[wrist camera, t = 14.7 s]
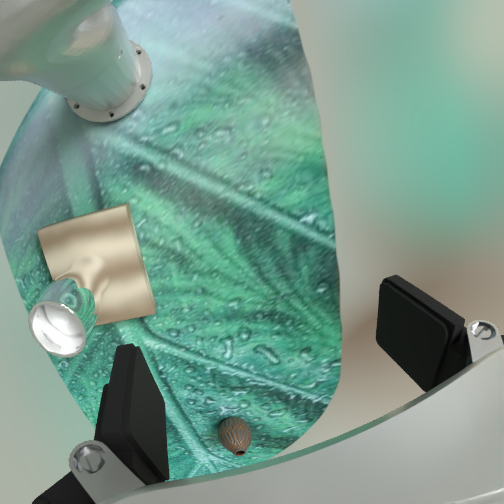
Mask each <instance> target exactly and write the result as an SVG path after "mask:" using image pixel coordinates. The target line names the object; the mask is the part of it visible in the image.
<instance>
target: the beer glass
mask: <svg viewBox="0 0 504 504" xmlns="http://www.w3.org/2000/svg"><path fill="white" fill-rule="evenodd" d="M109 282H110V269H109V266H108V264H107V263H106V261H105V260H104V259H103V258H102V257H101V256H99V255H97V254H95V253H89V252H87V253H82V254H80V255H78V256H77V257H76V258H75V259H74V261H73V263H72V265H71V268H70V270H68V271H67V272H65V273H63V274H62V275H60V276H58V277H57V278H56V279H54V280H53V281H52V282H51V283H50V284H49V285H48V286H47V287H46V288H45V289H44V291H43V292H42V293H41V295H40V296H39V298H38V300H37V301H36V303H35V305H34V307H33V308H32V309H31V311H30V314H29V328H30V331H31V333H32V335H33V337H34V339H35V340H36V342H37V343H38V344H39V345H40V346H41V347H42V348H43V349H44V350H46V351H47V352H49V353H51V354H53V355H55V356H59V357H73V356H75V355H77V354H79V353H80V352H81V351H82V350H83V348H84V346H85V344H86V342H87V340H88V338H89V336H90V334H91V333H92V330H93V328H94V326H95V323H96V320H97V317H98V313H99V307H100V298H101V293H102V292H103V291H104V290H105V289H106V287H107V286H108V284H109Z"/></svg>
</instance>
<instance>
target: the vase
mask: <svg viewBox="0 0 504 504" xmlns="http://www.w3.org/2000/svg"><path fill="white" fill-rule="evenodd" d="M218 437H219V441H220V443H221V444H222V446H223V447H224V448H225V449H227V450H229V451H230V452H232V453H233V454H234V455H235V456H242V455H244V454H246V451H247V448H248V447H249V445H250V443H251V441H252V432H251V429H250V427H249V425H248V424H247V422H246V421H244V420H243V419H241V418H238V417H229V418H226V419H225V420H223V421H222V422H221V424H220V425H219V428H218Z"/></svg>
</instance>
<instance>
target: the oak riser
mask: <svg viewBox="0 0 504 504" xmlns="http://www.w3.org/2000/svg"><path fill="white" fill-rule="evenodd" d="M37 233H38V236H39V240H40V243H41V246H42V249H43V253H44V256H45V259H46V262H47V265H48V268H49V270H50V273H51V276H52V279H53V280H54V279H56V278H57V277H58V276H60V275H62V274H63V273H65V272H67V271H68V270H70V268H71V265H72V263H73V261H74V259H75V258H76V257H77V256H78V255H80V254H82V253H87V252H89V253H95V254H97V255H99V256H101V257H102V258H103V259H104V260H105V261H106V263H107V264H108V266H109V269H110V282H109V284H108V286H107V287H106V289H105V290H104V291H103V292H102V293H101V298H100V307H99V313H98V317H97V320H96V323H95V326H96V325H101V324H107V323H112V322H117V321H122V320H127V319H132V318H137V317H142V316H147V315H152V314H155V313H156V301H155V298H154V295H153V292H152V289H151V285H150V282H149V279H148V275H147V272H146V268H145V265H144V261H143V258H142V254H141V250H140V247H139V243H138V239H137V235H136V231H135V227H134V223H133V219H132V215H131V211H130V206H129V203H125V204H121V205H117V206H113V207H110V208H106V209H102V210H98V211H95V212H91V213H88V214H84V215H81V216H77V217H74V218H70V219H67V220H63V221H60V222H57V223H54V224H50V225H47V226H45V227H43V228H41V229H40V230H38V231H37Z"/></svg>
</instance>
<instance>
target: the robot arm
mask: <svg viewBox="0 0 504 504" xmlns="http://www.w3.org/2000/svg"><path fill="white" fill-rule="evenodd" d="M110 1H112V0H0V81H17V80H22V81H28V82H31V83H34V84H37V85H39V86H42V87H44V88H46V89H48V90H50V91H52V92H55V93H57V94H59V95H61V96H63V97H65V98H67V101H68V103H69V106H70V107H71V109H72V110H73V111H74V112H75V113H76V114H77V115H78V116H79V117H81V118H83V119H85V120H88V121H91V122H97V123H103V122H110V121H115V120H117V119H120V118H122V117H124V116H126V115H127V114H129V113H130V112H132V111H133V110H134V109H135V108H136V107H137V106H138V105H139V104H140V103H141V102H142V101H143V99H144V98H145V96H146V94H147V93H148V90H149V88H150V85H151V81H152V65H151V61H150V59H149V56H148V54H147V53H146V51H145V50H144V49H143V48H142V47H141V46H140V45H139V44H137V43H135V42H134V41H131V40H129V38H128V36H127V33H126V31H125V29H124V26H123V24H122V21H121V19H120V17H119V14H118V12H117V11H116V9H115V8H114V6H113V5H112V4H111V3H110ZM138 53H141V54H139V55H138ZM142 87H145V89H144V90H142ZM78 105H79V108H78V109H77V106H78ZM111 114H114V116H113V117H111ZM464 323H465V319H464V318H462V317H461V316H459V315H458V314H456V313H455V312H453V311H452V310H450V309H448V308H447V307H446V306H444V305H443V304H441V303H440V302H438V301H437V300H435V299H434V298H432V297H431V296H429V295H428V294H426V293H424V292H423V291H422V290H420V289H419V288H417V287H415V286H414V285H412V284H411V283H409V282H408V281H406V280H404V279H403V278H401V277H399V276H398V275H393V276H390V277H387V278H385V279H384V280H383V281H382V283H381V284H380V290H379V306H378V318H377V330H376V341H377V343H378V345H379V346H380V347H381V348H382V349H383V350H384V351H385V352H386V353H387V354H388V355H389V356H390V357H391V358H392V359H393V360H394V361H395V362H396V363H397V364H398V365H399V366H400V367H401V368H402V369H403V370H404V371H405V372H406V373H407V374H408V375H409V376H410V377H411V378H412V379H413V380H414V381H415V382H416V383H417V384H418V385H419V387H421V389H422V390H423V391H425V392H426V393H425V394H423V395H421V396H420V397H418V398H416V399H414V400H413V401H410V402H409V403H407V404H405V405H403V406H402V407H399V408H397V409H396V410H394V411H392V412H390V413H388V414H386V415H384V416H382V417H380V418H378V419H376V420H373V421H371V422H369V423H367V424H365V425H363V426H361V427H358V428H356V429H354V430H352V431H349V432H347V433H344V434H342V435H340V436H337V437H335V438H332V439H330V440H327V441H325V442H322V443H319V444H316V445H313V446H311V447H308V448H305V449H302V450H299V451H296V452H294V453H290V454H287V455H284V456H281V457H277V458H274V459H270V460H267V461H263V462H260V463H256V464H252V465H248V466H244V467H240V468H235V469H231V470H227V471H222V472H217V473H213V474H208V475H202V476H197V477H191V478H185V479H179V480H174V481H168V482H165V480H169V465H168V452H167V436H166V415H165V402H164V399H163V397H162V395H161V393H160V390H159V388H158V386H157V384H156V382H155V380H154V378H153V376H152V374H151V371H150V369H149V367H148V365H147V363H146V360H145V358H144V356H143V353H142V351H141V349H140V347H139V346H137V347H135V346H134V344H132V343H131V344H125V345H120V346H117V349H116V353H115V358H114V362H113V367H112V371H111V376H110V381H109V384H105V385H104V388H103V392H102V397H101V402H100V407H99V413H98V418H97V424H96V430H95V436H94V440H93V441H92V440H89V441H85V442H83V443H81V444H79V445H78V446H76V447H75V448H74V449H73V451H72V452H71V454H70V457H69V466H70V469H71V471H70V472H69V473H68V474H67V475H65V476H64V477H63V478H62V479H60V480H59V481H58V482H56V483H55V484H54V485H53V486H51V487H50V488H49V489H48V490H46V491H45V492H44V493H43V494H41V495H40V496H38V497H37V498H36V499H35V500H34V501H33V502H32V504H504V335H500V332H499V330H498V328H497V327H496V326H495V325H494V324H493V323H491V322H489V321H486V320H474V321H471V322H470V323H469V324H468V326H467V328H466V327H464Z"/></svg>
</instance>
